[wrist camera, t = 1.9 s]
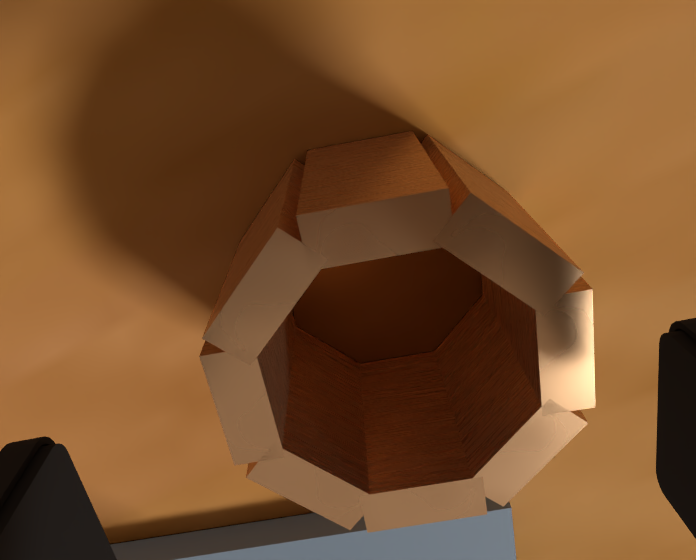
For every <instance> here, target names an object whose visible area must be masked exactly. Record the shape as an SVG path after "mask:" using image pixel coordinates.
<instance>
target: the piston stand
mask: <svg viewBox="0 0 696 560" xmlns="http://www.w3.org/2000/svg"><path fill="white" fill-rule="evenodd" d="M485 498H486V507H487V515H480V516H474V517H467V518H461V519H454V520H448V521H441V522H435V523H428V524H422V525H415V526H408V527H402V528H395V529H389V530H382V531H376V532H369V533H367V528H366V524H365V520H364V515H363V517H362V518H361V519H360V520H359V521H358V522H357V523H356V524H355V525H354V527H353V528H352V529H351V530H349V529H347V528H345V527H343V526H341V525H339V524H337V523H335V522H333V521H331V520H329V519H327V518H325V517H323V516H321V515H319V514H317V513H310V514H304V515H297V516H291V517H284V518H278V519H272V520H265V521H259V522H252V523H246V524H239V525H233V526H227V527H220V528H214V529H207V530H201V531H195V532H188V533H182V534H175V535H169V536H162V537H156V538H150V539H143V540H137V541H130V542H124V543H117V544H111V545H110V546H111V548H112V550H113V552H114V554H115V557H116V559H117V560H516V552H515V542H514V532H513V521H512V511H511V506H510V503H509V502H508V503H507V504H506V505H505V506H504V507H503V506H501V505H499V504H498V503H496V502H494V501H492V500H491V499H489V498H487V497H485Z"/></svg>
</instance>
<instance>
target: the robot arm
mask: <svg viewBox="0 0 696 560" xmlns="http://www.w3.org/2000/svg"><path fill="white" fill-rule="evenodd" d="M656 474H657V479H658V482H659V485H660V488H661V490H662V492H663V494H664V495H665V497H666V498H667V500H668V501H669V502H670V504H671V505H672V507H673V508H674V509H675V511H676V512H677V513H678V515H679V516H680V518H681V519H682V520H683V522H684V523H685V525H686V526H687V527H688V529H689V530H690V531H691V533H692V534H693V536H694V537H695V538H696V318H692V319H687V320H681V321H676V322H674V323H673V324H672V325H671V327H670V329H669V333H664V334H663V335H661V338H660V342H659V374H658V413H657V452H656ZM0 560H117V559H116V557H115V554H114V552H113V550H112V548H111V546H110V543H109V541H108V539H107V537H106V535H105V532H104V530H103V528H102V526H101V524H100V521H99V519H98V517H97V515H96V513H95V510H94V508H93V506H92V504H91V502H90V499H89V497H88V495H87V493H86V491H85V488H84V486H83V484H82V482H81V480H80V477H79V475H78V473H77V471H76V469H75V467H74V464H73V462H72V460H71V458H70V456H69V453H68V451H67V449H66V448H65V446H63V445H62V444H55V443H54V441H53V440H52V439H50V438H49V437H39V438H34V439H28V440H23V441H18V442H12V443H9V444H7V445H6V446H5V447H4V448H3V449H2V450H1V451H0Z"/></svg>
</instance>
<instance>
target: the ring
mask: <svg viewBox="0 0 696 560" xmlns="http://www.w3.org/2000/svg"><path fill="white" fill-rule="evenodd" d="M438 248H444V249H446V250H447V251H449V252H450V253H452V254H453V255H454V256H456V257H457V258H459V259H460V260H462V261H463V262H465V263H466V264H468V265H469V266H471V267H472V268H474V269H475V270H477V271H478V272H480V273H481V279H482V288H483V295H482V296H481V297H480V298H479V299H478V301H477V302H476V303H475V304H474V305H473V307H472V308H471V309H470V310H469V311H468V312H467V314H466V315H465V316H464V317H463V318H462V319H461V321H460V322H459V323H458V324H457V325H456V326H455V328H454V329H453V330H452V331H451V332H450V334H449V335H448V336H447V337H446V338H445V339H444V341H443V342H442V343H441V344H440V345H439V346H438V348H437V349H436V350H435V351H432V352H426V353H420V354H414V355H408V356H402V357H396V358H390V359H384V360H378V361H372V362H366V363H358V362H356V361H355V360H353V359H351V358H349V357H348V356H346V355H344V354H343V353H341V352H339V351H338V350H336V349H334V348H332V347H331V346H329V345H327V344H326V343H324V342H322V341H321V340H319V339H317V338H315V337H314V336H312V335H310V334H309V333H307V332H305V331H304V330H302V329H300V328H298V327H297V326H296V323H295V319H294V315H293V311H292V308H293V307H294V306H295V304H296V303H297V301H298V300H299V299H300V297H301V296H302V295H303V293H304V292H305V290H306V289H307V288H308V286H309V285H310V284H311V282H312V281H313V279H314V278H315V277H316V275H317V274H318V273H319V271H320V270H321V269H324V268H330V267H336V266H341V265H347V264H353V263H358V262H364V261H370V260H375V259H381V258H387V257H392V256H398V255H404V254H409V253H415V252H421V251H426V250H432V249H438ZM583 273H584V272H583V271H582V270H581V269H580V268H579V267H578V266H577V265H576V264H575V263H574V262H573V261H572V260H571V259H570V258H569V257H568V255H567V254H566V253H565V252H564V251H563V250H562V249H561V248H560V247H559V246H558V245H557V244H556V243H555V242H554V241H553V240H552V238H551V237H550V236H549V235H548V234H547V233H546V232H545V231H544V230H543V229H542V228H541V227H540V226H539V225H538V224H537V223H536V222H535V220H534V219H533V218H532V217H531V216H530V215H529V214H528V213H527V212H526V211H525V210H524V209H523V208H522V207H521V206H520V205H519V203H518V202H517V201H516V200H515V199H514V198H513V197H512V196H511V195H510V194H509V193H508V192H507V191H505V190H504V189H503V188H501V187H500V186H498V185H497V184H496V183H494V182H493V181H492V180H490V179H489V178H487V177H486V176H485V175H483V174H482V173H481V172H479V171H478V170H476V169H475V168H474V167H472V166H471V165H469V164H468V163H467V162H465V161H464V160H463V159H461V158H460V157H458V156H457V155H456V154H454V153H453V152H451V151H450V150H449V149H447V148H446V147H445V146H443V145H442V144H440V143H439V142H438V141H436V140H435V139H434V138H432V137H431V136H429V135H428V134H427V135H426V137H425V138H424V139H423V141H422V142H421V144H420V142H419V141H418V139H417V137H416V136H415V134H414V133H413V131H408V132H403V133H398V134H392V135H387V136H381V137H376V138H371V139H365V140H360V141H355V142H349V143H344V144H339V145H333V146H328V147H322V148H317V149H312V150H307V156H306V162H305V165H303V164H302V163H300V162H299V161H297V160H296V159H294V160H293V162H292V163H291V165H290V167H289V168H288V170H287V171H286V173H285V174H284V176H283V177H282V179H281V180H280V182H279V183H278V185H277V186H276V188H275V189H274V191H273V192H272V194H271V195H270V197H269V198H268V200H267V201H266V203H265V204H264V206H263V207H262V209H261V210H260V212H259V213H258V215H257V216H256V218H255V219H254V221H253V222H252V224H251V225H250V227H249V229H248V230H247V232H246V233H245V235H244V236H243V238H242V239H241V241H240V243H239V246H238V248H237V251H236V253H235V256H234V258H233V261H232V263H231V266H230V268H229V271H228V274H227V276H226V279H225V281H224V284H223V286H222V289H221V291H220V294H219V296H218V299H217V302H216V304H215V307H214V309H213V312H212V314H211V317H210V319H209V322H208V324H207V327H206V329H205V332H204V335H203V337H202V339H204V340H205V343H204V346H203V348H202V351H201V353H200V360H201V363H202V366H203V369H204V372H205V375H206V378H207V381H208V384H209V387H210V391H211V394H212V397H213V400H214V403H215V406H216V409H217V412H218V415H219V418H220V422H221V425H222V428H223V431H224V434H225V437H226V440H227V443H228V446H229V450H230V453H231V456H232V459H233V462H234V465H239V464H246V463H249V464H248V469H247V475H246V478H248V479H250V480H252V481H254V482H256V483H258V484H260V485H262V486H264V487H265V488H267V489H269V490H271V491H273V492H275V493H277V494H279V495H281V496H283V497H285V498H287V499H289V500H291V501H293V502H295V503H297V504H299V505H301V506H303V507H305V508H307V509H309V510H311V511H313V512H315V513H317V514H319V515H321V516H323V517H325V518H327V519H329V520H331V521H333V522H335V523H337V524H339V525H341V526H343V527H345V528H347V529H349V530H351V529H352V528H353V527H354V525H355V524H356V523H357V522H358V521H359V520H360V519H361V518H362V517H363V515H364V520H365V524H366V528H367V533H369V532H376V531H382V530H389V529H395V528H402V527H408V526H415V525H422V524H428V523H435V522H441V521H448V520H454V519H461V518H467V517H474V516H480V515H487V507H486V498H485V497H487V498H489V499H491V500H492V501H494V502H496V503H498V504H499V505H501V506H503V507H504V506H505V505H506V504H507V503H508V502H509V501H510V500H511V499H512V498H513V497H514V496H515V495H516V494H517V493H518V492H519V491H520V490H521V489H522V488H523V487H524V486H525V485H526V484H527V483H528V482H529V481H530V480H531V479H532V478H533V477H534V476H535V475H536V474H537V473H538V472H539V471H540V470H541V469H542V468H543V467H544V466H545V465H546V464H547V463H548V462H549V461H550V460H551V459H552V458H553V457H554V456H555V455H556V454H557V453H558V452H559V451H560V450H561V449H562V448H563V447H564V446H565V445H566V444H567V443H568V442H569V441H570V440H571V439H572V438H573V437H574V436H575V435H577V434H578V433H579V432H580V431H581V430H582V429H583V428H584V427H585V426H586V425H587V424H588V422H587V420H586V419H585V417H584V415H583V414H582V412H581V409H587V408H594V407H595V373H594V331H593V289H592V288H591V287H590V286H589V285H588V284H587V283H586V281H585V280H584V279H583V278H582V277H581V275H582V274H583Z"/></svg>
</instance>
